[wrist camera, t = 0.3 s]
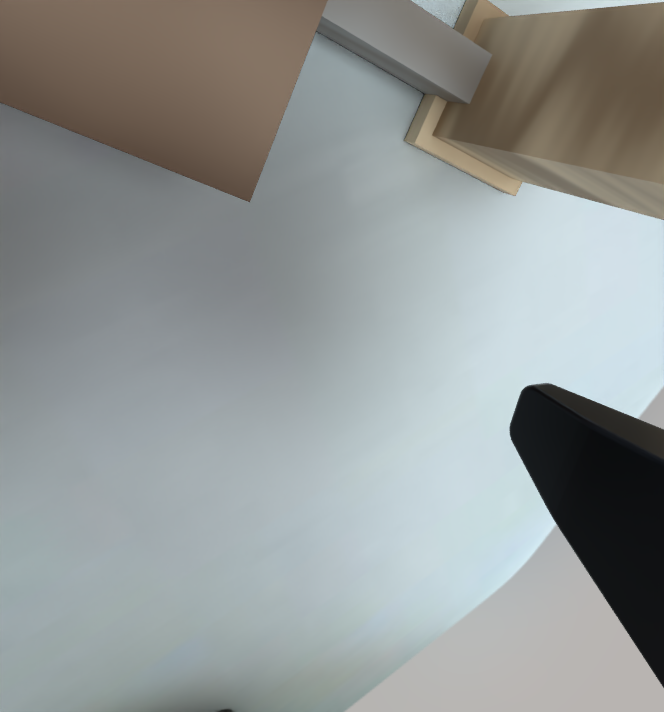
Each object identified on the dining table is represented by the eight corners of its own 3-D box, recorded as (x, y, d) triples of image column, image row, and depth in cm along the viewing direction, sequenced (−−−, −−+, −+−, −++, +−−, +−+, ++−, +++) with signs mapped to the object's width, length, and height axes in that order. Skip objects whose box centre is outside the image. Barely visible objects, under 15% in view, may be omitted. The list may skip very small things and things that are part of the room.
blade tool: (503, 192, 25) (806, 285, 15) (28, -56, 16) (-33, -241, 6) (565, 66, 23) (944, 73, 13) (85, -273, 15) (127, -954, 5)
